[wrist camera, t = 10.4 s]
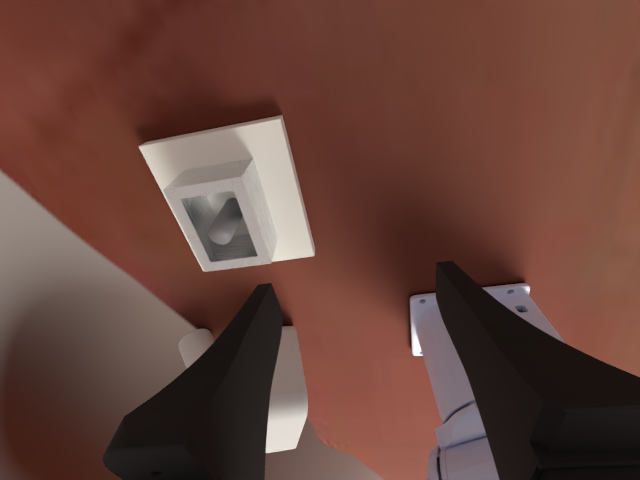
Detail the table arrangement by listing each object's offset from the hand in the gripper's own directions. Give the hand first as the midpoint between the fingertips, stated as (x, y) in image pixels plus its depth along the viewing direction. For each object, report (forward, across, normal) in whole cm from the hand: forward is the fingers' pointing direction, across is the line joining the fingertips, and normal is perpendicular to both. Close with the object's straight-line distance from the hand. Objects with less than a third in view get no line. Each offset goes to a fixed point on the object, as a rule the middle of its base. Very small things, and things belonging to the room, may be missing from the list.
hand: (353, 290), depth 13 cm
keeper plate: (+9, +8, -1) cm, 12 cm away
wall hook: (+10, +12, +14) cm, 21 cm away
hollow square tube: (+8, +8, -1) cm, 11 cm away
